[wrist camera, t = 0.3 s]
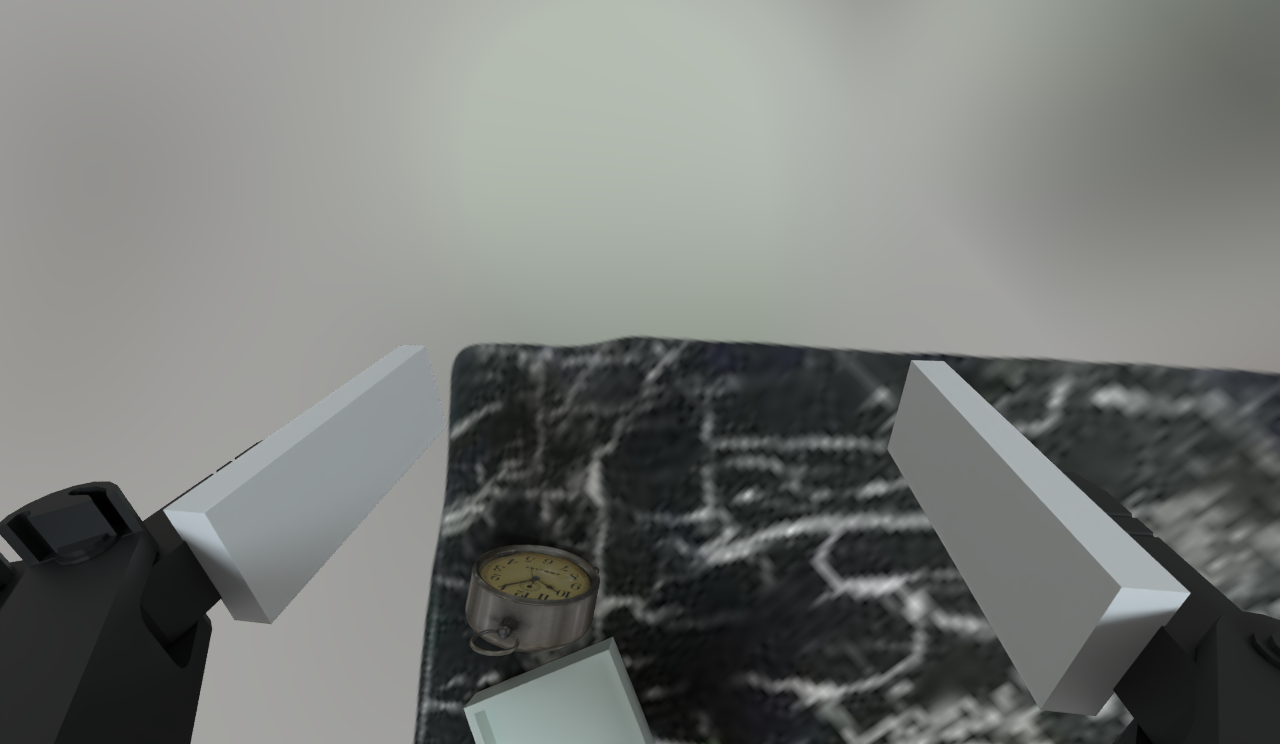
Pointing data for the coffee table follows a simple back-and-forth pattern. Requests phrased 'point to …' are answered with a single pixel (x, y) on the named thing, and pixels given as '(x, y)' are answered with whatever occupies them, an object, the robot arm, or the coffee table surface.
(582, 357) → the coffee table surface
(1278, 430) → the coffee table surface
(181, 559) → the robot arm
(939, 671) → the coffee table surface
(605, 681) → the tray
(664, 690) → the coffee table surface
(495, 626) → the alarm clock
